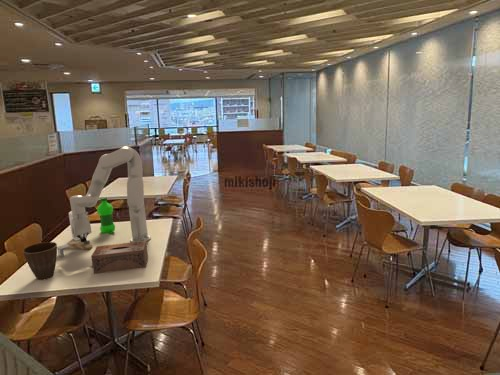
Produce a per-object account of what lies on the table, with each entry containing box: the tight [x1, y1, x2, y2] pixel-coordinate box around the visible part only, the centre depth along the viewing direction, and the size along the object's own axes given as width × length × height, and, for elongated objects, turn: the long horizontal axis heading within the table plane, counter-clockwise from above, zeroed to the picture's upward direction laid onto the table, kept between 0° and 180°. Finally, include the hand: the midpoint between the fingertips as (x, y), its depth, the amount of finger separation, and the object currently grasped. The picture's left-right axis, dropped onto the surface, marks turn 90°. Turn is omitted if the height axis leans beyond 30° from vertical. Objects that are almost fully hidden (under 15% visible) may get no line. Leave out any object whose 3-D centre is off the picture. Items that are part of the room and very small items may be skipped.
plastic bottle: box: [96, 196, 116, 235], centre depth 250 cm, size 10×10×25 cm
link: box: [67, 239, 93, 251], centre depth 222 cm, size 16×5×4 cm, turn 73°
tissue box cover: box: [90, 241, 149, 275], centre depth 196 cm, size 26×14×10 cm, turn 101°
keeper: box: [57, 243, 71, 258], centre depth 212 cm, size 5×6×6 cm
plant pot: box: [22, 241, 58, 281], centre depth 186 cm, size 15×15×16 cm
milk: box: [68, 210, 83, 242], centre depth 239 cm, size 6×6×22 cm
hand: (84, 244), depth 226 cm, fingers closed
